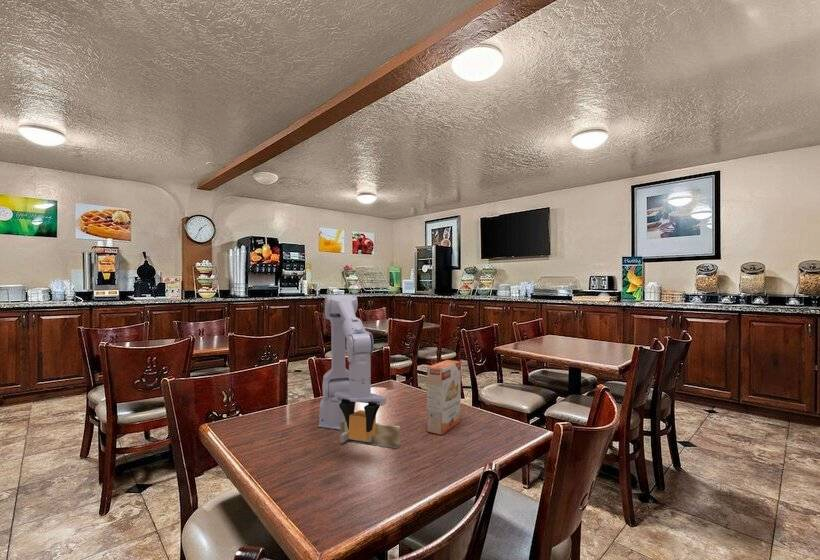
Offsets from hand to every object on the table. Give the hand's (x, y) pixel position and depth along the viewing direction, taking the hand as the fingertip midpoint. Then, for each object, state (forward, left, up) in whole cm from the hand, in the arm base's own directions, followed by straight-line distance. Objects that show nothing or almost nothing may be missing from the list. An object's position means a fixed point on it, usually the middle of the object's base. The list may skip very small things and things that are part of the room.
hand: (360, 429), depth 102 cm
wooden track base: (-3, +11, -8) cm, 14 cm away
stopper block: (0, +1, -2) cm, 3 cm away
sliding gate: (-6, +9, -8) cm, 13 cm away
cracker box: (+15, +30, -8) cm, 35 cm away
